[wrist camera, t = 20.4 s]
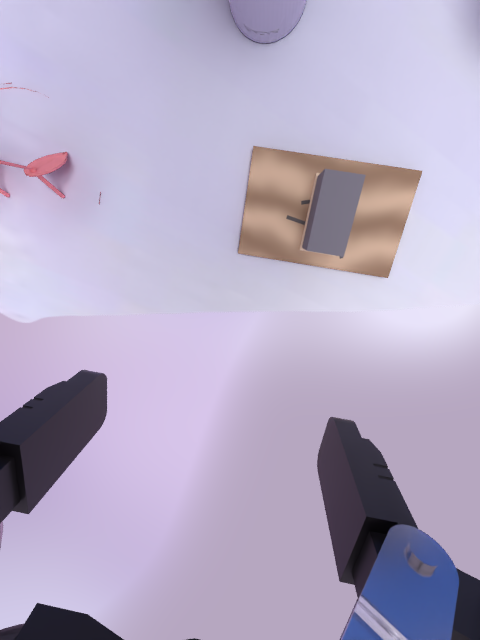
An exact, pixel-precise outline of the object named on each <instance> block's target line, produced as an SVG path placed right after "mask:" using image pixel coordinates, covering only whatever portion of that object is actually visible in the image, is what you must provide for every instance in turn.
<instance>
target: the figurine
mask: <svg viewBox="0 0 480 640" xmlns="http://www.w3.org/2000/svg"><path fill="white" fill-rule="evenodd" d="M6 84H11V83H6ZM10 88H15V87H10ZM1 89H7V88H1ZM22 89H25V88H22ZM28 90H29V89H28ZM31 91H32V90H31ZM35 92H36V91H35ZM46 97H47V96H46ZM48 98H49V97H48ZM66 156H67V158H68V153H67V152H63V153H57V154H52V155H47V156H44V157H41V158H39V159H36V160H34V161H33V162H31V163H29V164H28V166H27V167H26V166H22V165H18V164H14V163H10V162H5V161H1V160H0V164H5V165H9V166H14V167H19V168H23V169H24V172H25V174H26V176H29V177H38V178H39V179H40V180H41V181H42V182H44V183H45V184H46V185H47V186H48V187H49V188H51V189H52V190H53V191H54V192H55V193H57V194H58V195H59V196H60V197H61V198H65V196H64V195H63V194H62V193H61V192H60V191H59V190H58V189H56V188H55V187H54V186H53V185H52V184H51V183H49V182H48V181H47V180H46V179H45V178H44V177H43V176H42V175H45V174H48V173H51V172H53V171H55V170H57V169H59V168H60V167H61V166H63V165H64V164H65V163H66V160H67V158H66ZM65 158H66V160H65ZM0 193H2V194H3V195H5V196H6V197H9V196H10V195H9V194H8V193H6V192H5V191H4V190H2V189H1V188H0ZM100 195H101V192H100ZM99 204H100V200H99Z"/></svg>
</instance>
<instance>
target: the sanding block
mask: <svg viewBox="0 0 480 640" xmlns="http://www.w3.org/2000/svg"><path fill="white" fill-rule="evenodd" d="M365 176H366V175H363V174H356V173H350V172H343V171H337V170H330V169H324V170H323V171H322V172H321V173H316V176H315V181H314V186H313V190H312V195H311V199H310V204H309V209H308V213H307V218H306V222H305V227H304V232H303V236H302V241H301V245H300V250H302V251H308V252H314V253H320V254H326V255H332V256H341V257H344V254H345V251H346V247H347V243H348V239H349V236H350V232H351V228H352V225H353V221H354V217H355V213H356V210H357V206H358V202H359V199H360V195H361V191H362V187H363V184H364V180H365Z"/></svg>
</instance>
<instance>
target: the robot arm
mask: <svg viewBox="0 0 480 640" xmlns="http://www.w3.org/2000/svg"><path fill="white" fill-rule="evenodd" d="M229 3H230V8H231V12H232V16H233V18H234V21H235V23H236V25H237V26H238V28H239V29H240V31H241V32H242V33H243V34H244V35H245V36H246V37H248V38H249V39H251V40H253V41H256V42H259V43H271V42H275V41H278V40H280V39H281V38H283V37H285V36H286V35H287V34H288V33H290V32H291V31H292V30H293V28H294V27H295V26H296V24H297V23H298V21H299V19H300V18H301V16H302V14H303V11H304V8H305V5H306V0H229ZM106 413H107V377H106V375H105V374H103V373H98V372H92V371H87V370H81V371H80V372H78V373H77V374H76V375H75V376H73V377H72V378H71V379H69V380H68V381H62V382H60V383H57V384H55V385H52V386H50V387H48V388H46V389H45V390H43V391H42V392H41V393H39V394H38V395H36V396H35V397H34V399H31V400H30V401H28V402H27V403H26V404H24V405H23V407H22V408H19V409H17V410H16V411H15V412H13V413H12V414H11V415H9V416H8V417H7V418H5V419H4V420H2V421H1V422H0V548H1V539H2V533H3V522H2V521H3V520H4V519H5V518H6V517H7V515H8V514H9V513H10V512H11V511H16V512H21V513H25V514H29V513H30V512H31V511H32V510H33V508H34V507H35V506H36V505H37V504H38V502H39V501H40V500H41V499H42V498H43V496H44V495H45V494H46V492H48V490H49V489H50V488H51V487H52V485H53V484H54V483H55V482H56V481H57V480H58V478H59V477H60V476H61V475H62V474H63V472H64V471H65V470H66V469H67V467H68V466H69V465H70V464H71V463H72V461H73V460H74V459H75V458H76V457H77V455H78V454H79V453H80V452H81V450H82V449H83V448H84V447H85V446H86V445H87V443H88V442H89V441H90V440H91V439H92V437H93V436H94V435H95V434H96V433H97V431H98V430H99V429H100V428H101V426H102V424H103V422H104V420H105V417H106ZM317 467H318V474H319V480H320V485H321V490H322V494H323V500H324V505H325V510H326V515H327V520H328V525H329V530H330V535H331V540H332V545H333V551H334V556H335V561H336V566H337V571H338V576H339V581H340V582H344V583H349V584H354V585H355V588H356V592H357V596H358V599H357V601H356V604H355V606H354V608H353V610H352V613H351V615H350V617H349V619H348V622H347V624H346V626H345V628H344V631H343V633H342V635H341V638H340V640H480V580H478V579H476V578H474V577H472V576H470V575H468V574H466V573H464V572H462V571H460V570H459V569H457V568H456V567H455V565H454V563H453V561H452V560H451V558H450V557H449V555H448V554H447V553H446V551H445V550H444V549H443V548H442V547H441V546H440V545H439V544H438V543H437V542H436V541H435V540H434V539H433V538H431V537H430V536H429V535H427V534H426V533H424V532H423V531H421V530H419V529H418V527H417V525H416V523H415V521H414V519H413V517H412V515H411V513H410V511H409V509H408V507H407V505H406V503H405V501H404V499H403V497H402V495H401V492H400V490H399V488H398V486H397V485H396V482H395V481H393V476H392V474H391V472H390V470H389V469H388V466H387V464H386V462H385V460H384V458H383V456H382V454H381V452H380V451H379V450H378V449H377V448H376V447H375V446H374V444H373V443H372V442H371V441H370V440H369V439H364V438H361V435H360V433H359V431H358V428H357V426H356V424H355V422H354V421H351V420H345V419H340V418H335V417H330V418H329V420H328V423H327V427H326V430H325V433H324V436H323V440H322V443H321V446H320V450H319V453H318V461H317ZM0 640H123V639H122V638H121V637H119V636H118V635H116V634H115V633H113V632H112V631H111V630H109V629H108V628H106V627H105V626H103V625H102V624H100V623H99V622H98V621H96V620H95V619H93V618H92V617H90V616H89V615H88V614H84V613H79V612H75V611H70V610H66V609H61V608H57V607H52V606H48V605H44V604H39V603H37V604H36V606H35V608H34V609H33V611H32V612H31V614H30V616H29V618H28V619H27V621H26V622H25V624H19V625H16V626H12V627H8V628H5V629H2V630H0ZM188 640H199V639H188Z"/></svg>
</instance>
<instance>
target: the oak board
mask: <svg viewBox="0 0 480 640" xmlns="http://www.w3.org/2000/svg"><path fill="white" fill-rule="evenodd" d="M324 169H330V170H337V171H343V172H350V173H356V174H363V175H366V176H365V180H364V184H363V187H362V191H361V195H360V199H359V202H358V206H357V210H356V213H355V217H354V221H353V225H352V228H351V232H350V236H349V239H348V243H347V247H346V251H345V254H344V257H341V256H332V255H326V254H320V253H314V252H308V251H302V250H300V245H301V241H302V236H303V232H304V227H305V222H306V218H307V213H308V209H309V204H310V199H311V195H312V190H313V186H314V181H315V176H316V173H321V172H322V171H323V170H324ZM421 174H422V171H419V170H412V169H405V168H399V167H392V166H385V165H378V164H372V163H365V162H358V161H351V160H344V159H338V158H331V157H324V156H317V155H311V154H304V153H297V152H290V151H284V150H277V149H270V148H263V147H257V146H253V153H252V160H251V167H250V174H249V181H248V188H247V195H246V201H245V208H244V215H243V222H242V229H241V236H240V243H239V250H238V253H239V254H245V255H251V256H258V257H264V258H270V259H276V260H282V261H288V262H294V263H300V264H306V265H312V266H318V267H324V268H330V269H336V270H343V271H349V272H355V273H361V274H367V275H373V276H379V277H385V278H388V276H389V273H390V270H391V267H392V264H393V261H394V257H395V254H396V251H397V248H398V245H399V242H400V239H401V236H402V233H403V230H404V226H405V223H406V220H407V217H408V214H409V211H410V208H411V205H412V202H413V199H414V195H415V192H416V189H417V186H418V183H419V180H420V177H421Z"/></svg>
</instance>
